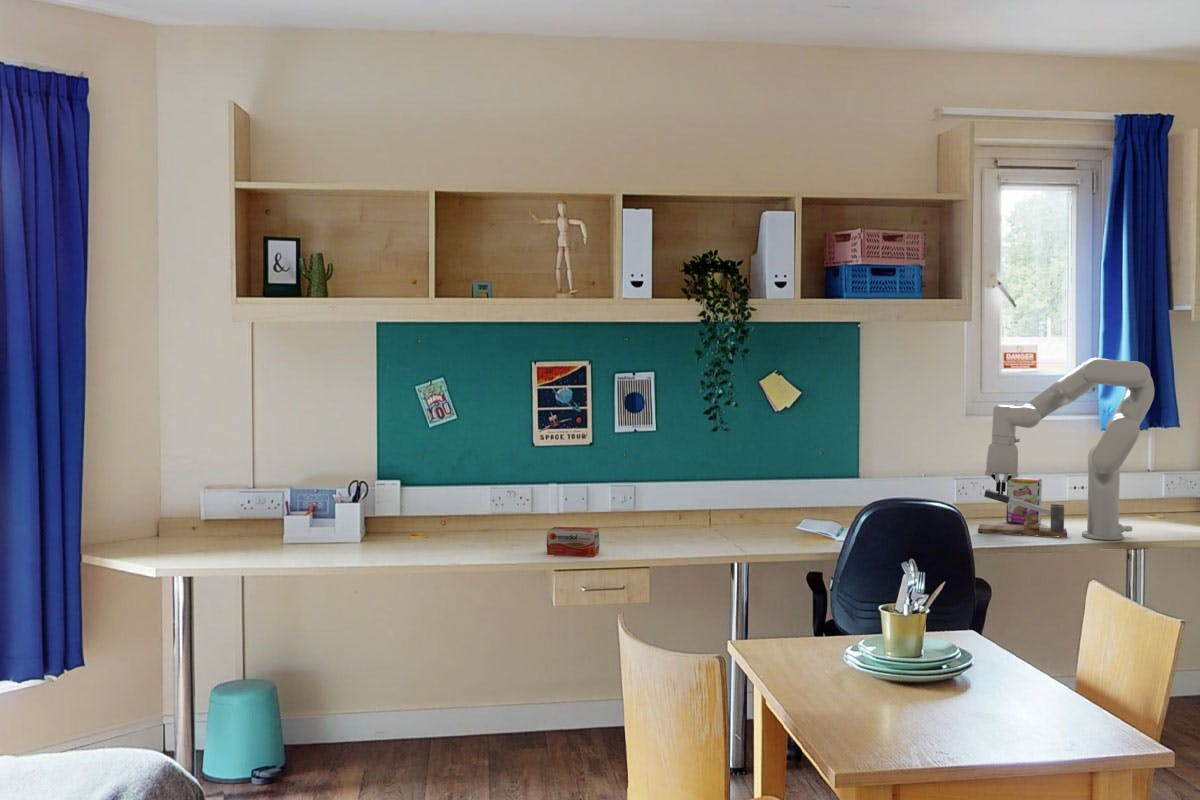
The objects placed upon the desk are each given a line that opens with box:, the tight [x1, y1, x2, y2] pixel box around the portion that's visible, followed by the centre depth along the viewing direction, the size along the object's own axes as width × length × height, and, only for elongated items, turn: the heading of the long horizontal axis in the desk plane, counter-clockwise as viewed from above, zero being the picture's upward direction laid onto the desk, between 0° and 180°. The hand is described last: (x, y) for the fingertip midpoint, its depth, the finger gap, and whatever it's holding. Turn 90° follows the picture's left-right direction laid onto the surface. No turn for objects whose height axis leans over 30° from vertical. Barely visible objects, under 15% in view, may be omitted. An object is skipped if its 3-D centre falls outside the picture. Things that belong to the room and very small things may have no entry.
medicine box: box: [546, 526, 600, 558], centre depth 334 cm, size 15×8×8 cm, turn 80°
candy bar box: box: [1005, 476, 1043, 525], centre depth 390 cm, size 11×5×16 cm, turn 58°
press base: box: [977, 503, 1068, 538], centre depth 370 cm, size 28×10×10 cm, turn 68°
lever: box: [983, 489, 1051, 516], centre depth 369 cm, size 25×4×2 cm, turn 69°
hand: (1000, 493), depth 372 cm, fingers closed
